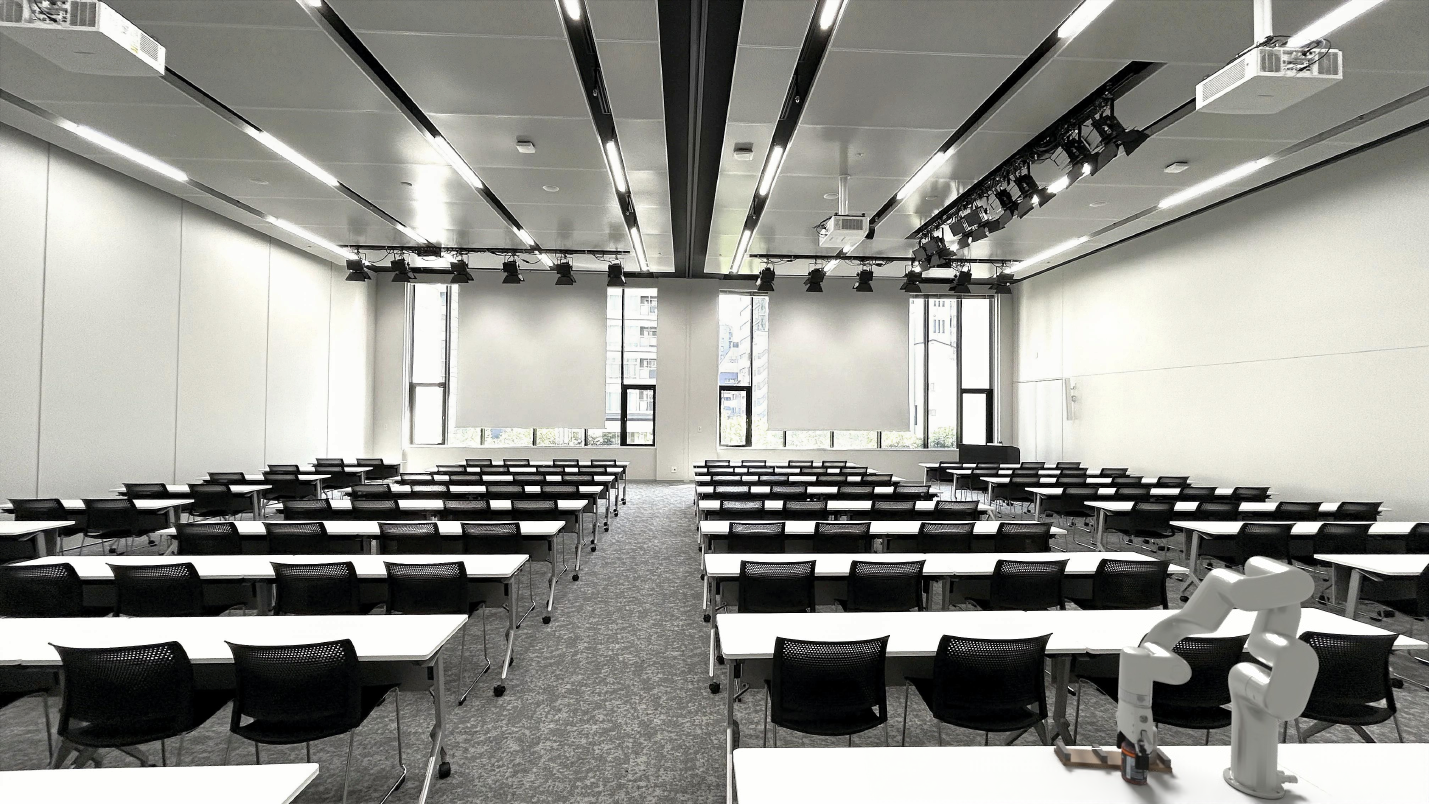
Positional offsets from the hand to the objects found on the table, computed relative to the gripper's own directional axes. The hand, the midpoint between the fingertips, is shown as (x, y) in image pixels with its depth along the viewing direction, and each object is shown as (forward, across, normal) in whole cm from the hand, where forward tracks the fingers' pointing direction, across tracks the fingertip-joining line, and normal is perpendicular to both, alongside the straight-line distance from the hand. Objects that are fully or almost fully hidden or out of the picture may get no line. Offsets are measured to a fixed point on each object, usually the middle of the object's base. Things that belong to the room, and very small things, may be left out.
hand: (1131, 758), depth 178 cm
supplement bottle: (+6, 0, -1) cm, 6 cm away
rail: (+6, +8, +1) cm, 10 cm away
